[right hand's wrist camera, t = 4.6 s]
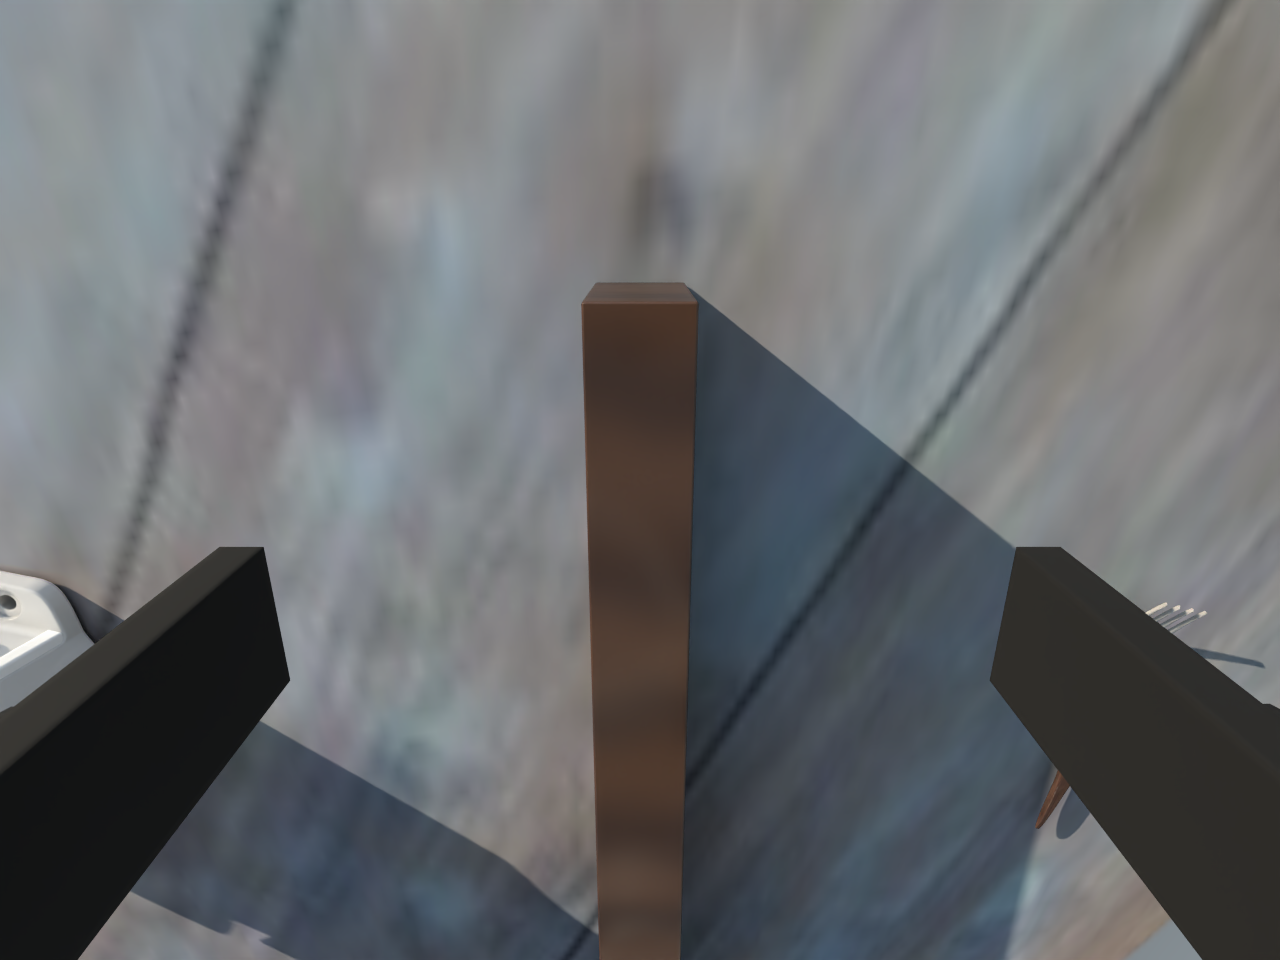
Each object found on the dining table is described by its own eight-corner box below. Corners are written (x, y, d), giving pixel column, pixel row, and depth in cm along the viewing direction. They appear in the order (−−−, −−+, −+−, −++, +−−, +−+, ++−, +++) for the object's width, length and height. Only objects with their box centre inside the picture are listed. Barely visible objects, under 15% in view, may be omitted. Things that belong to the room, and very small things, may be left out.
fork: (1011, 817, 42) (1029, 845, 40) (1136, 583, 37) (1163, 602, 35) (1052, 825, 42) (1071, 853, 40) (1182, 593, 37) (1211, 613, 35)
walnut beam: (595, 282, 32) (581, 301, 24) (684, 282, 32) (698, 301, 24) (610, 995, 47) (604, 1141, 40) (669, 995, 47) (675, 1141, 40)
